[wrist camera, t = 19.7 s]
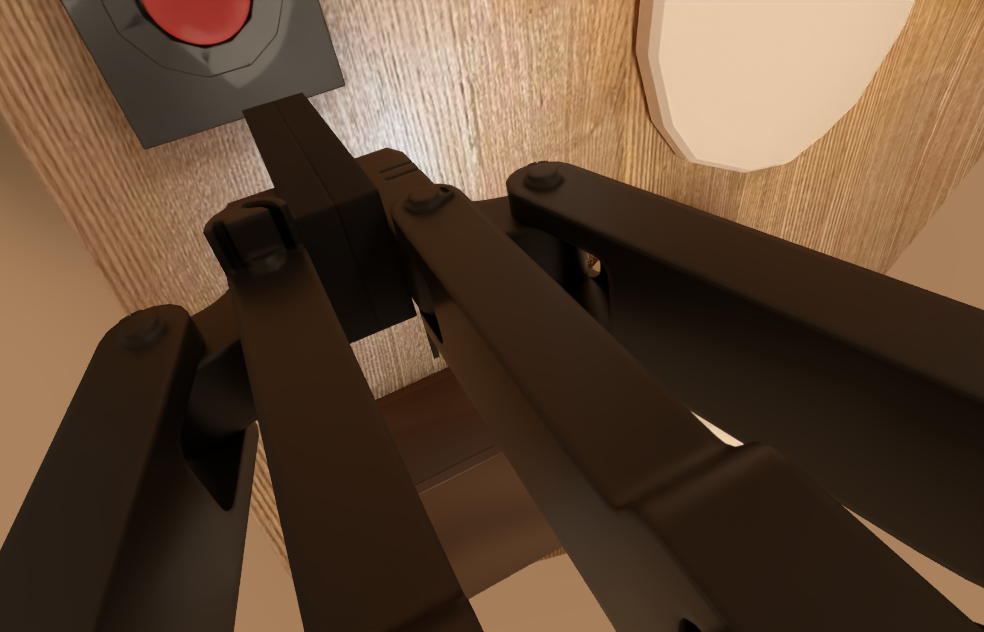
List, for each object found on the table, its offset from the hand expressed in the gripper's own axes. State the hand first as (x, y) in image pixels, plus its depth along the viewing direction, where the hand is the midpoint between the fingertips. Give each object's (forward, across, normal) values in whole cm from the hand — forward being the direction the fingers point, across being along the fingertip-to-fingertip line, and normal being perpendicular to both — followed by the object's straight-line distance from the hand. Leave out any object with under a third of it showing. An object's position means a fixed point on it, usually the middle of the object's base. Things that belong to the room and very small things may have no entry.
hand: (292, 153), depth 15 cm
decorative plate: (+19, +36, -6) cm, 41 cm away
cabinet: (+19, +4, -34) cm, 38 cm away
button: (+15, 0, +2) cm, 15 cm away
